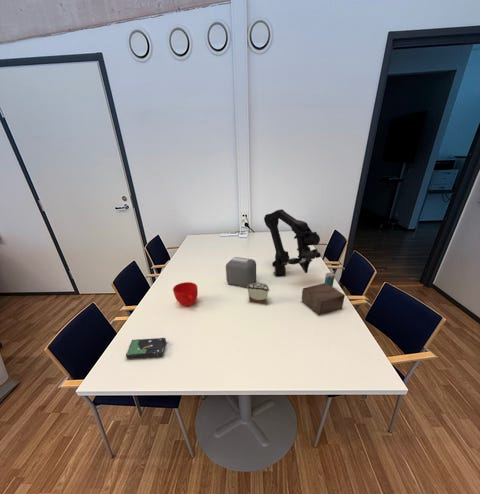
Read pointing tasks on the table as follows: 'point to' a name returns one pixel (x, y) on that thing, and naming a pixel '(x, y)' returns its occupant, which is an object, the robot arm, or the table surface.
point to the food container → (258, 293)
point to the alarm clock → (241, 271)
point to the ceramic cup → (186, 293)
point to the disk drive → (146, 348)
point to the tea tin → (329, 279)
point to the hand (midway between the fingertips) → (306, 272)
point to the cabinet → (322, 298)
